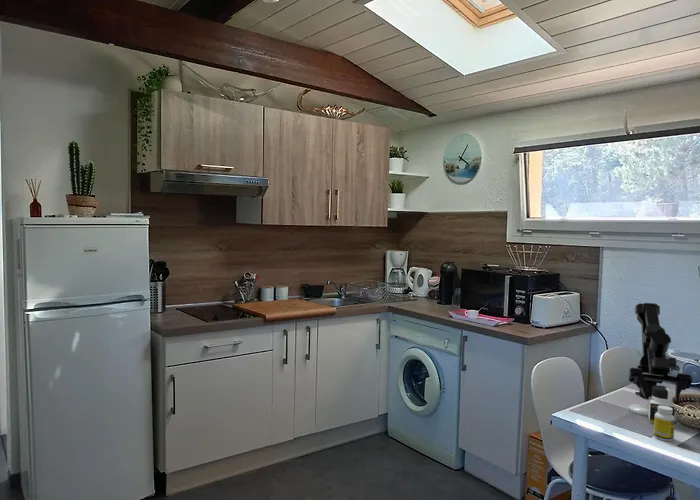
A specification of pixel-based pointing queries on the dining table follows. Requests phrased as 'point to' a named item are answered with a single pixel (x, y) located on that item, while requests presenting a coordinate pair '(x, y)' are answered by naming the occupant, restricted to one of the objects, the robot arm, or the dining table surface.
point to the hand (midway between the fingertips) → (661, 399)
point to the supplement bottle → (664, 424)
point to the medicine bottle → (660, 400)
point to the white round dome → (639, 409)
